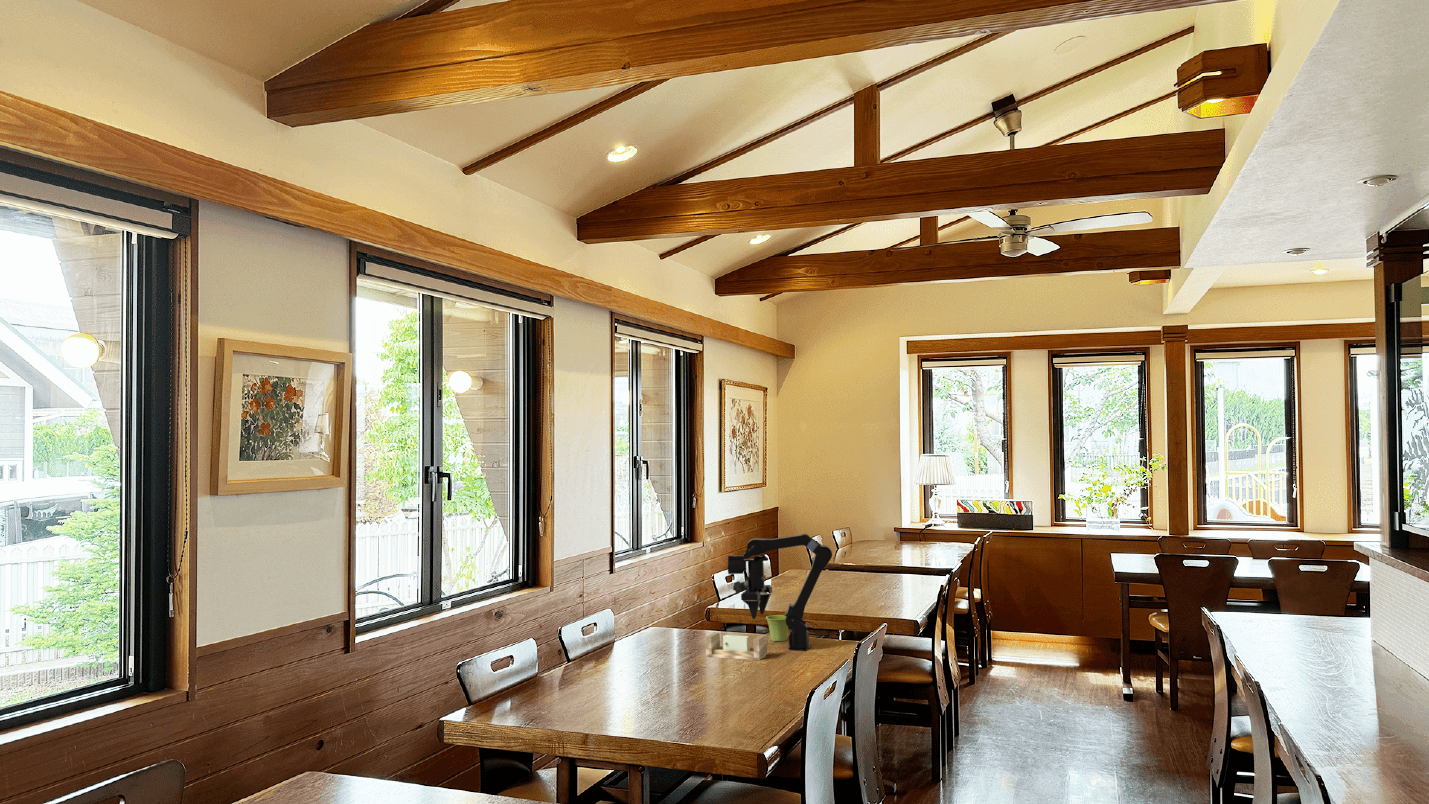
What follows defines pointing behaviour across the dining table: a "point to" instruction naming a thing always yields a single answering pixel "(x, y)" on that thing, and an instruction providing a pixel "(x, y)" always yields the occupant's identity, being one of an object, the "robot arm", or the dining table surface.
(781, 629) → the plant pot
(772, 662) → the dining table surface
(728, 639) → the pale green rectangular block
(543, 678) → the dining table surface
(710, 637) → the wooden u-shaped holder
